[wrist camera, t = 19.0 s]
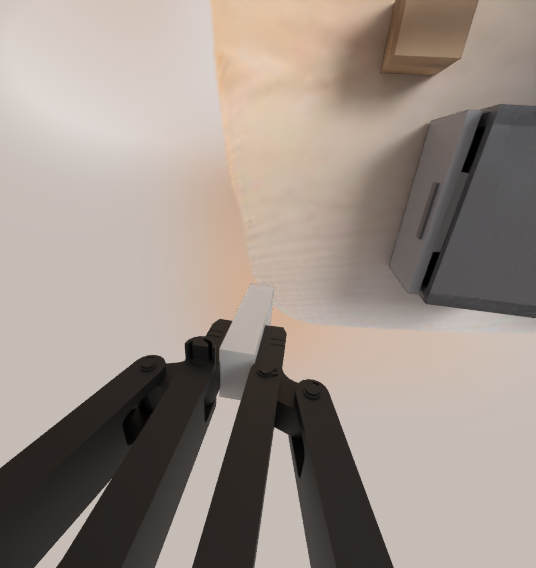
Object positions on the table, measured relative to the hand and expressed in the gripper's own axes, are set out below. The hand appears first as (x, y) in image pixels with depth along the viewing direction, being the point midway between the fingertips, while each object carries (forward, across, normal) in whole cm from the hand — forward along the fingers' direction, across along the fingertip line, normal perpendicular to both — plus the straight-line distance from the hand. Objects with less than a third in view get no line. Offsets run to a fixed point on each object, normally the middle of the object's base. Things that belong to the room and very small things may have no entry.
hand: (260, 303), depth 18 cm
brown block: (+18, +10, +19) cm, 28 cm away
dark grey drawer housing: (+18, +21, +5) cm, 28 cm away
